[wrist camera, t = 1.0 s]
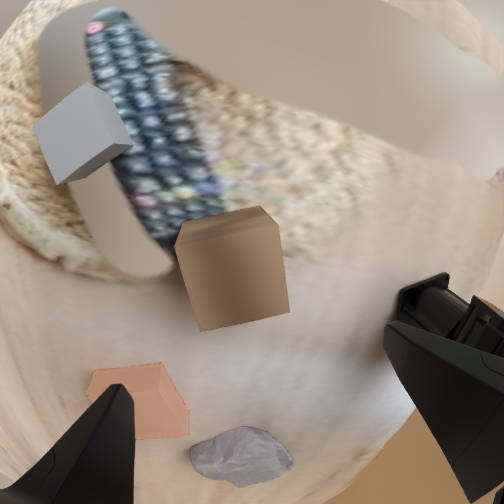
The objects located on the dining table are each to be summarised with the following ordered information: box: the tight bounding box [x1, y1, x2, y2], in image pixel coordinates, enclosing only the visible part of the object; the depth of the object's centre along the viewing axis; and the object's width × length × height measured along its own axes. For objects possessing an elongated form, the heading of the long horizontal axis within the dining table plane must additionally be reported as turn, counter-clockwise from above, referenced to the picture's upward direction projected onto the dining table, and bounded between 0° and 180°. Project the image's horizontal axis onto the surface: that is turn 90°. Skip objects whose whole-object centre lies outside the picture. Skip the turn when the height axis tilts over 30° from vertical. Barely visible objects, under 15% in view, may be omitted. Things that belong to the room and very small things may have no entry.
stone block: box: [190, 426, 295, 488], centre depth 26 cm, size 12×5×10 cm
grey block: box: [32, 82, 134, 185], centre depth 13 cm, size 4×4×4 cm
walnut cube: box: [174, 206, 290, 332], centre depth 16 cm, size 5×5×5 cm
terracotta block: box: [86, 362, 189, 439], centre depth 20 cm, size 7×7×4 cm
